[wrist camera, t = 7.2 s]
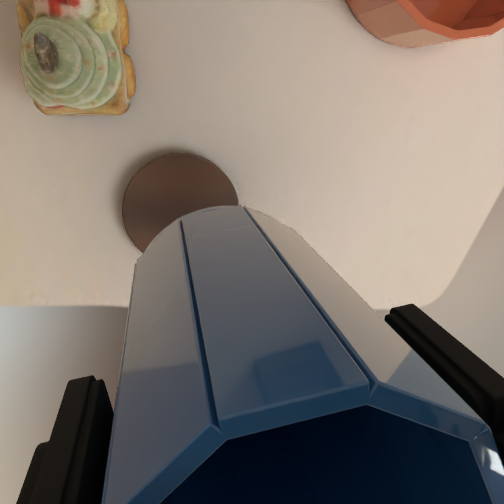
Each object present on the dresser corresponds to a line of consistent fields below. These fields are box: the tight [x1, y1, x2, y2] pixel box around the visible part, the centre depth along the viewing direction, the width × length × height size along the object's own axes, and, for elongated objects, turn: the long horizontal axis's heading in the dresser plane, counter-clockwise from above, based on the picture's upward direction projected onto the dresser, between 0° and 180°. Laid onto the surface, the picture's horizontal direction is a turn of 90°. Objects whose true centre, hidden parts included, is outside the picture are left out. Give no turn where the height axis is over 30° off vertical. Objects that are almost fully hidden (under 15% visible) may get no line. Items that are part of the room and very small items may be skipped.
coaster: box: [122, 153, 239, 253], centre depth 32 cm, size 8×8×1 cm
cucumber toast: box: [17, 0, 136, 116], centre depth 23 cm, size 8×6×10 cm
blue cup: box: [101, 205, 504, 504], centre depth 12 cm, size 7×7×11 cm
